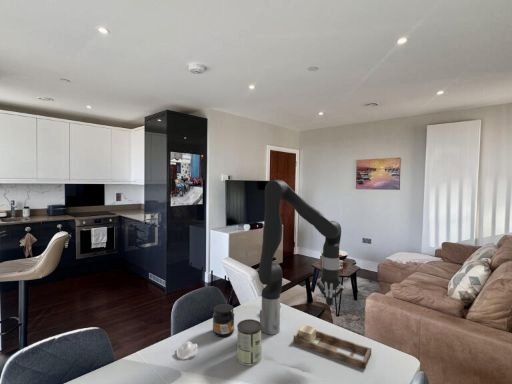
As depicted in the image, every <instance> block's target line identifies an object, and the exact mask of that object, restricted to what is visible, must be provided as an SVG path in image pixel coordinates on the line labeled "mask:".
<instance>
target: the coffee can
mask: <svg viewBox="0 0 512 384" xmlns="http://www.w3.org/2000/svg"><path fill="white" fill-rule="evenodd" d="M236 326H237V327H236V328H237V361H238V362H239V364H241V365H243V366H250V367H251V366H255V365H258V364H259V363H260V362H261V360H262V330H261V328H262V324H261V323H260V320H256V319H251V318H250V319H243V320H241V321H239V322H238V323H237V324H236Z"/></svg>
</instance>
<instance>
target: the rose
mask: <svg viewBox="0 0 512 384" xmlns="http://www.w3.org/2000/svg"><path fill="white" fill-rule="evenodd" d="M198 346H199V345H198V344H197V343H193V342H191V341H188V340H187V341H186V342H184V343H182V344H180V345H179V346H178V347H177V349H176V357H177V358H178V359H179V358H180V360H181V359H187V360H189V359H192V358H195V357H196V355H197V354H198ZM194 356H195V357H194ZM191 357H192V358H191ZM188 358H189V359H188Z"/></svg>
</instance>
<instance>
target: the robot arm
mask: <svg viewBox="0 0 512 384" xmlns="http://www.w3.org/2000/svg"><path fill="white" fill-rule="evenodd" d="M281 200H282V201H284V202H286V203H288V204H289V205H290V206H291V207H292V208H293V209H294V210H295V212H296V213H297V214H298V215H299V216H300V217H301V218H302V219H304V220H305V221H306V222H307V223H309V224H310V225H312V226H313V227H314V228H315V230H317V232H319V234H321V235H322V236H323V237H325V238H324V239H325V241H324V243H323V246H322V247H323V248H322V258H321V278H320V280H318V281H316V282H315V284H316V286H317V288H318V289H319V291H320V293H321V295H323V296H325V302H326V303H325V304H327V305H326V306H330V307H332V305H333V304H334V298H337V297H338V296H339V295H340V294H341V293H342V292H343V291H344V290H345V288H346V287H345V286H343V285H342V284H341V281H340V267H341V265H340V263H341V262H340V243H341V238H342V227H341V224H340V223H339V222H338V221H336V220H329V219H327V218H326V217H325V216H324V213H323V212H321V211H320V210H319V209H317V208H316V207H315V206H313V205H312V204H310V203H309V202H307V201H306V199H303V197H301V195H299V194H297V192H295V191H294V190H293V189H292V188H291V187H290V186H289V184H287V183H286V182H285V181H284V180H282V179H273V180H270V181H268V182H267V183H266V185H265V187H264V218H263V219H264V220H263V230H262V245H261V255H260V260H259V266H258V279H259V282H260V283H261V284H262V285H264V287H263V288H262V290H261V309H260V310H259V322H260V323H261V324H262V328H261V333H264V334H265V335H275V334H278V333H280V329H281V328H280V326H281V325H280V324H281V323H280V322H281V308H280V305H281V293H282V289H283V269H282V267H281V266H280V264H279V263H276V262H273V260H274V256H275V254H276V252H277V251H278V248H279V247H280V244H281V242H282V236H283V222H282V218H281V213H280V207H281V206H280V204H281ZM336 289H338V290H337V292H336Z"/></svg>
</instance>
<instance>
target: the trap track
mask: <svg viewBox="0 0 512 384" xmlns="http://www.w3.org/2000/svg"><path fill="white" fill-rule="evenodd" d="M292 338H293V344H296V345H299V346H302V347H303V348H307V349H309V350H312V351H315V352H318V353H320V354H323V355H326V356H329V357H331V358H334V359H336V360H338V361H342V362H344V363H348V364H350V365H353V366H355V367H358V368H361V369H363V370H366V368H367V365H368V363H369V360H370V358H371V356H372V348H371V347H367V346H364V345H361V344H358V343H355V342H353V341H349V340H347V339H343V338H340V337H337V336H334V335H331V334H328V333H324V332H321V331H319V330H316V339H315V341H314V342H313V343H312V342H310V341H307V340H304V339H301V338H299V329H297V331H296V332H295V333H294V334H293V337H292ZM340 346H341V347H344V348H347V349H350V350H351V351H350V353H349V355H348V354H346V353H343V352H340V351H338V349H339V348H340ZM356 352H359V353H362V354H363V355H364V357H363V359H360V358H358V357H357V358H356V357H355V356H354V355H355V354H356Z"/></svg>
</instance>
